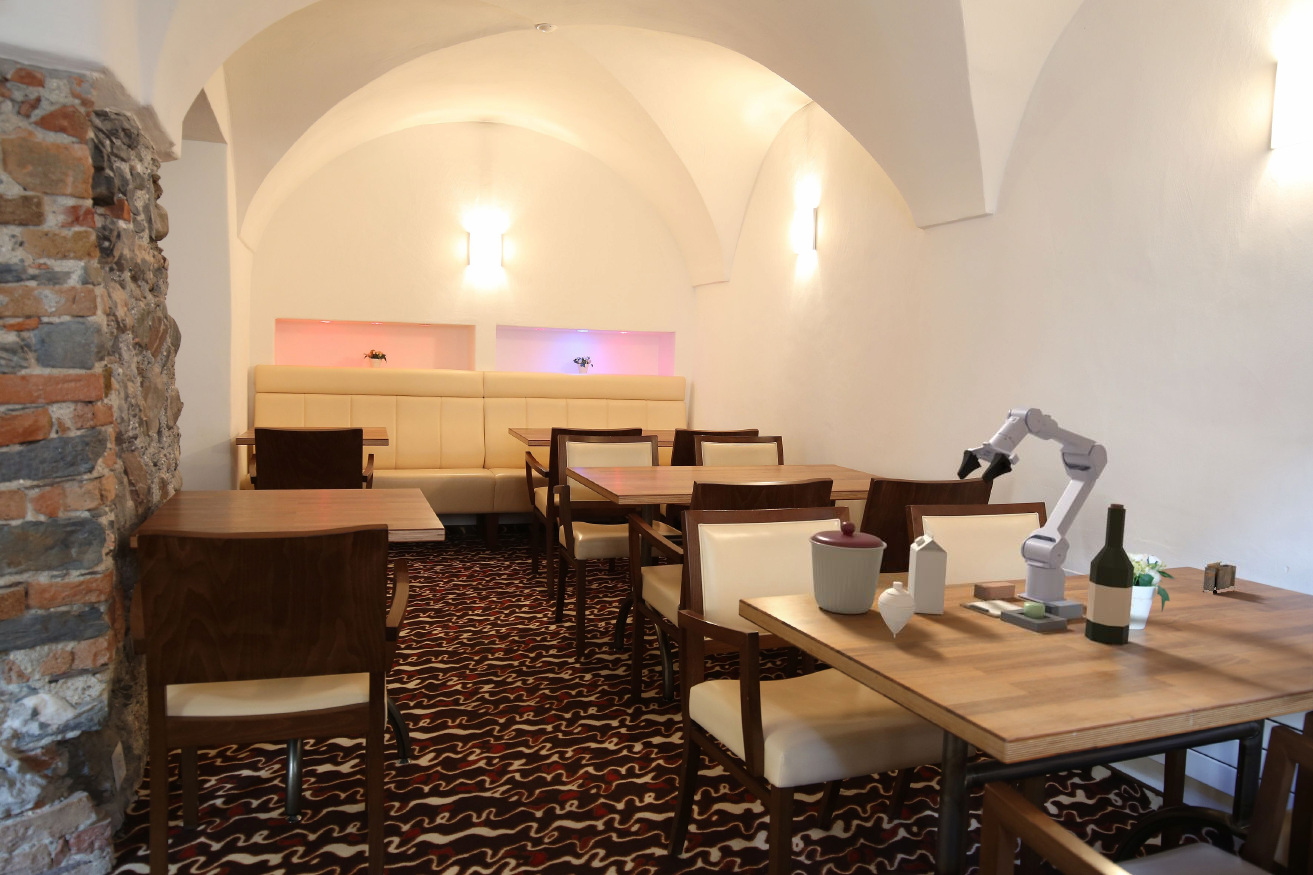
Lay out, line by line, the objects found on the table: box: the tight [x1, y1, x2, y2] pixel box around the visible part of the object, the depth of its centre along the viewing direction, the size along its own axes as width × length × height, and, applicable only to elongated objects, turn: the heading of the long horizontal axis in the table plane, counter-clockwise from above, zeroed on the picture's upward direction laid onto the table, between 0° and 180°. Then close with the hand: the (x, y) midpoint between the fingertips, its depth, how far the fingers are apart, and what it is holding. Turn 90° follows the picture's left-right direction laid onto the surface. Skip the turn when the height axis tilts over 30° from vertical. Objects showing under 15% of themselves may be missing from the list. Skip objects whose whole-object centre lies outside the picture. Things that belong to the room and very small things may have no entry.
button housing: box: [999, 609, 1068, 633], centre depth 189 cm, size 10×10×2 cm
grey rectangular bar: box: [1041, 599, 1084, 620], centre depth 196 cm, size 11×3×3 cm, turn 116°
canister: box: [808, 521, 888, 615], centre depth 194 cm, size 18×18×21 cm
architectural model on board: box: [1202, 561, 1237, 592], centre depth 230 cm, size 11×3×10 cm, turn 119°
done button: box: [1023, 601, 1045, 620], centre depth 189 cm, size 4×4×3 cm
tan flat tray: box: [959, 599, 1024, 619], centre depth 201 cm, size 14×11×1 cm
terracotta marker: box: [973, 581, 1016, 601], centre depth 213 cm, size 11×3×3 cm, turn 116°
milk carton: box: [907, 529, 948, 615], centre depth 196 cm, size 7×7×19 cm
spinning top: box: [877, 581, 915, 639], centre depth 173 cm, size 8×8×12 cm
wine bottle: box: [1084, 503, 1135, 646], centre depth 178 cm, size 8×8×30 cm
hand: (971, 478), depth 199 cm, fingers open, 7 cm apart
